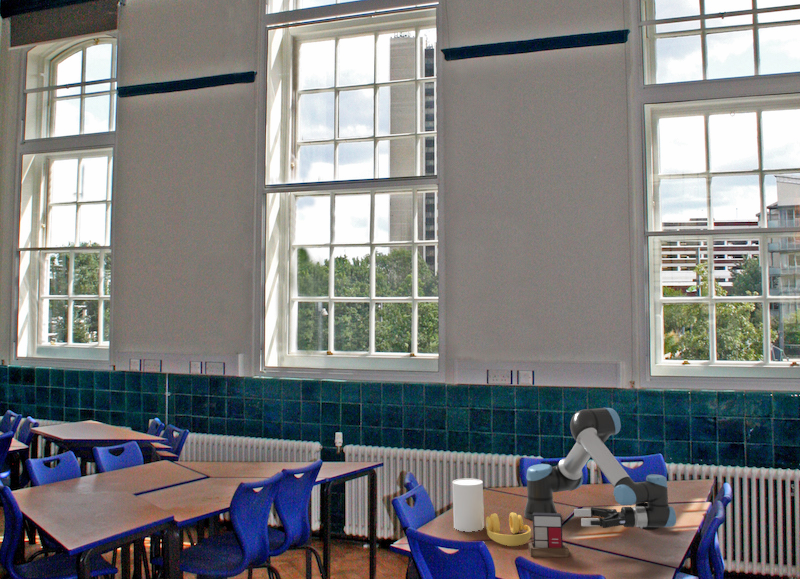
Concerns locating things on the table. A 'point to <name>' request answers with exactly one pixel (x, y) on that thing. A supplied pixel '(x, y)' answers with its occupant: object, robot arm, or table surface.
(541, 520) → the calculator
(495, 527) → the headset
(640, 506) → the mug
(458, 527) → the canister
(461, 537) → the table surface
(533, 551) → the slot stand
